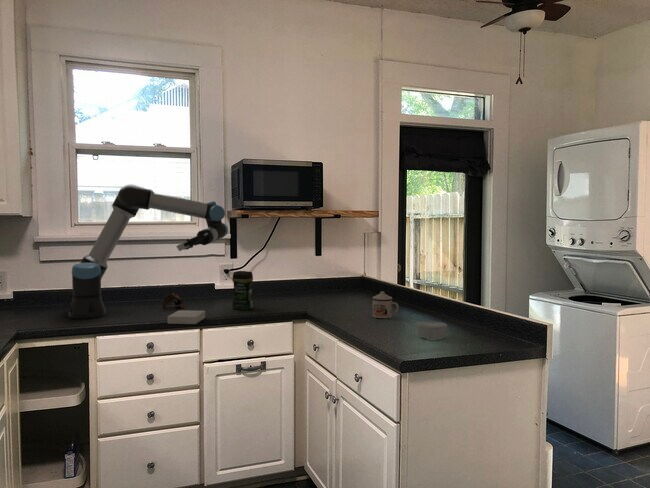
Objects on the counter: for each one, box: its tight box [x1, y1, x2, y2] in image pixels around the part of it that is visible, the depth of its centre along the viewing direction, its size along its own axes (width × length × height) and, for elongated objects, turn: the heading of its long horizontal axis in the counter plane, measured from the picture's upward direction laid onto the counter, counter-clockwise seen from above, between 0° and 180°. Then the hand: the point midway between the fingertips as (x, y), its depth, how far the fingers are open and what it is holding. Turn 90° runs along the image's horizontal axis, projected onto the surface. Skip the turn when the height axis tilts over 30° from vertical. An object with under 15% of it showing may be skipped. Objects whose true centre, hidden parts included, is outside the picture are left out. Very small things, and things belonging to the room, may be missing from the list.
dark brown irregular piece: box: [161, 292, 184, 310], centre depth 250 cm, size 12×10×8 cm
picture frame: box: [167, 309, 206, 325], centre depth 219 cm, size 12×3×14 cm
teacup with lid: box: [371, 291, 399, 319], centre depth 226 cm, size 12×9×12 cm
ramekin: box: [416, 320, 448, 339], centre depth 190 cm, size 11×11×5 cm
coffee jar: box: [231, 270, 254, 311], centre depth 247 cm, size 10×8×19 cm
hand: (178, 248), depth 232 cm, fingers closed
